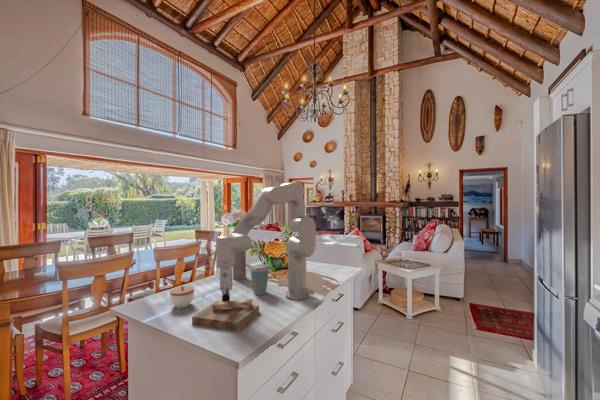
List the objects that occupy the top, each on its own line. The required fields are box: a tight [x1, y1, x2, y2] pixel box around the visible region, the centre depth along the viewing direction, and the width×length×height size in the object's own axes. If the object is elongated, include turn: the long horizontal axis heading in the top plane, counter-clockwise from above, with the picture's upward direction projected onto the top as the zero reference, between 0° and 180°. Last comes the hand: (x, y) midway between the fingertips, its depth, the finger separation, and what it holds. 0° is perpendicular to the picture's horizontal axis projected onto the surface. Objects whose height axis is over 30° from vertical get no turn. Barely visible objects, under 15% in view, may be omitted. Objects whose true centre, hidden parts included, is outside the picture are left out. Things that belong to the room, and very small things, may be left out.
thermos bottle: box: [232, 251, 247, 281], centre depth 176 cm, size 8×8×28 cm
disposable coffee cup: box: [250, 264, 271, 296], centre depth 149 cm, size 11×11×15 cm
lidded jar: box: [169, 285, 195, 309], centre depth 132 cm, size 11×11×9 cm
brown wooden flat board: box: [191, 300, 260, 331], centre depth 119 cm, size 22×18×3 cm
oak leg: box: [211, 298, 253, 311], centre depth 121 cm, size 17×3×3 cm, turn 101°
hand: (225, 303), depth 124 cm, fingers closed
